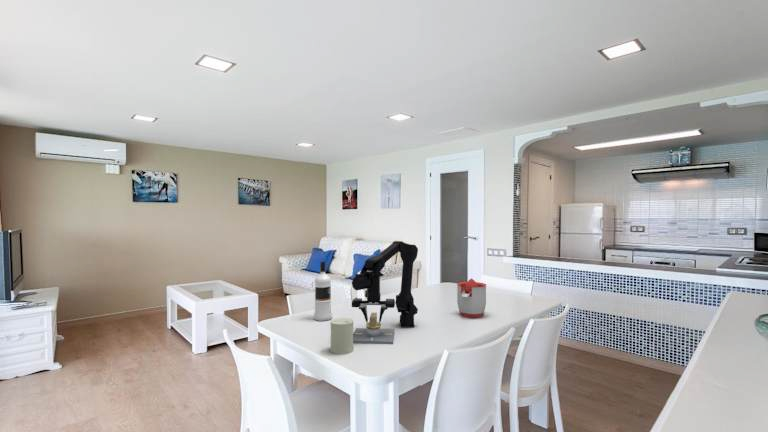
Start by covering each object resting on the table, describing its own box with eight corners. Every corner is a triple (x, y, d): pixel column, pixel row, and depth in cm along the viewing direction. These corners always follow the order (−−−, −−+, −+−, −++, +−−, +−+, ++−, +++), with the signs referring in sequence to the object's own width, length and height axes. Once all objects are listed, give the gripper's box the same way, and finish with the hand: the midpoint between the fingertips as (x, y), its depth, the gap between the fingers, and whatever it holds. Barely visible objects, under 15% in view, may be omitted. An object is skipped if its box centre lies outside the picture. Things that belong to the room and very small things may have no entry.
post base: (394, 330, 171) (394, 322, 172) (392, 344, 154) (392, 334, 154) (356, 330, 173) (356, 321, 173) (350, 343, 155) (350, 333, 155)
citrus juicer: (450, 317, 195) (450, 279, 195) (463, 310, 209) (463, 275, 210) (479, 322, 186) (479, 282, 186) (490, 314, 200) (490, 277, 201)
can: (343, 355, 140) (343, 324, 141) (325, 351, 145) (325, 320, 145) (358, 348, 148) (358, 318, 148) (340, 344, 153) (340, 315, 153)
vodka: (313, 317, 195) (313, 260, 196) (331, 316, 197) (331, 260, 198) (314, 322, 186) (314, 262, 187) (332, 320, 188) (332, 262, 189)
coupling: (381, 324, 167) (381, 312, 167) (379, 330, 158) (379, 318, 158) (367, 324, 168) (367, 312, 168) (365, 330, 159) (365, 317, 159)
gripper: (395, 284, 171) (395, 317, 171) (355, 283, 172) (355, 317, 172) (394, 288, 160) (394, 324, 159) (351, 288, 161) (351, 324, 161)
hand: (373, 322), depth 163 cm, fingers open, 5 cm apart
